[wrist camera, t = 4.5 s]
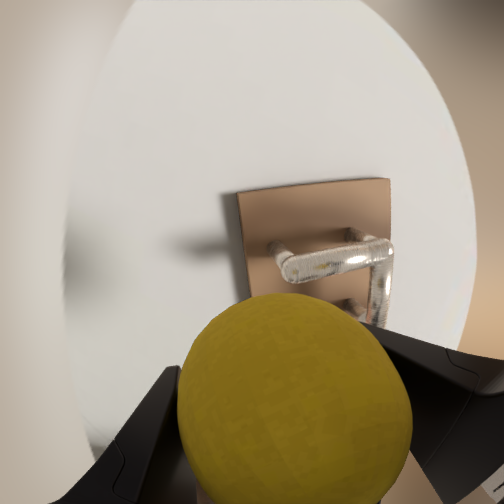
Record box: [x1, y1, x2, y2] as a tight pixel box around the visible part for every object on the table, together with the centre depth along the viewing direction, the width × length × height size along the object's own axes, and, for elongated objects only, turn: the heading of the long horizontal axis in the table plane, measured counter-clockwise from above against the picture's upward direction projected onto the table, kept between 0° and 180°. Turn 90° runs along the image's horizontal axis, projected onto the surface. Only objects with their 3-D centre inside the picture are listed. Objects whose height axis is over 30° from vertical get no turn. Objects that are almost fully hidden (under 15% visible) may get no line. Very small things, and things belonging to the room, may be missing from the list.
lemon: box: [177, 293, 413, 504], centre depth 6 cm, size 6×6×8 cm
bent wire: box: [267, 227, 394, 329], centre depth 18 cm, size 8×8×5 cm
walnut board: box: [236, 178, 391, 317], centre depth 22 cm, size 21×12×1 cm, turn 7°
